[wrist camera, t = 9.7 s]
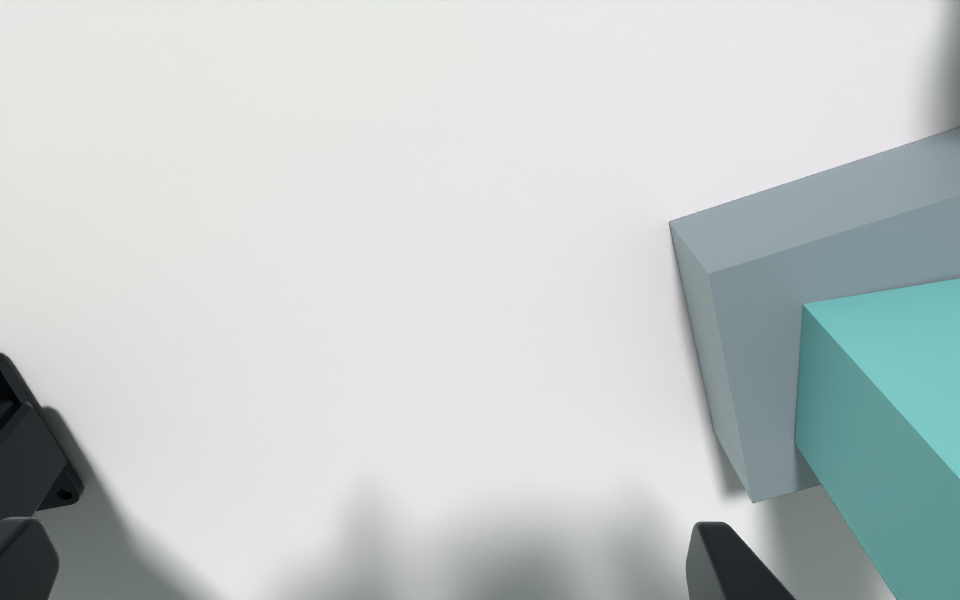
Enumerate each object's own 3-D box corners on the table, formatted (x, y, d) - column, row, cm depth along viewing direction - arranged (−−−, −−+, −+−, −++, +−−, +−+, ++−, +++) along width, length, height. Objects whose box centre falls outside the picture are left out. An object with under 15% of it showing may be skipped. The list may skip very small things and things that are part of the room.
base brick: (710, 425, 27) (752, 503, 23) (665, 217, 22) (708, 274, 19) (953, 354, 26) (1034, 425, 22) (954, 123, 21) (1055, 165, 18)
